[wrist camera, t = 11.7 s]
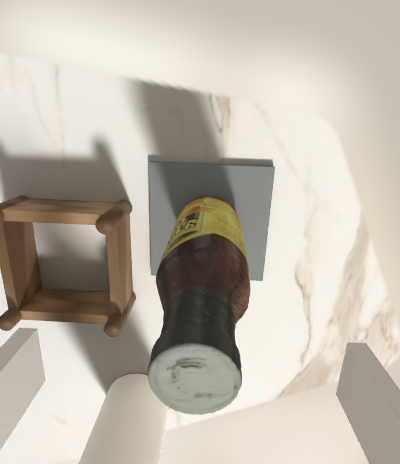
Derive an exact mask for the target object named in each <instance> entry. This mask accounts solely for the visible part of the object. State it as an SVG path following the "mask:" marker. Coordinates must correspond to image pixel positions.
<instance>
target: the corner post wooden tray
mask: <svg viewBox="0 0 400 464" xmlns="http://www.w3.org/2000/svg"><path fill="white" fill-rule="evenodd" d="M131 211H132V205H131V204H130V202H128V201H126V200H121V201H119V202H118V203H114V202H91V201H68V200H45V199H29V198H28V197H26V196H20V197H17V198H14V199H11V200H9V201H6V202H3V203H0V268H1V273H2V279H3V284H4V289H5V294H6V299H7V304H8V310H7V311H6V312H5V313H4V314H3V315H1V316H0V329H2V330H5V331H9V330H11V329H12V328H13V327H14V326H15V325H16V324H17V323H18V322H19V321H20V320H21V319H23V320H41V321H58V322H76V323H94V324H106V325H105V326H104V332H105V333H106V334H107V335H108V336H110V337H116V336H118V335H119V334H120V332H121V330H122V328H123V325H124V323H125V321H126V319H127V317H128V314H129V312H130V310H131V308H132V306H133V304H134V301H135V299H136V296H135V294H134V293H133V284H132V261H131V237H130V213H131ZM32 222H43V223H65V224H87V225H96V228H97V230H98V231H99V232H100V233H102V234H106V243H107V257H108V271H109V285H110V292H95V291H76V290H58V289H43V288H42V286H41V279H40V272H39V266H38V259H37V252H36V246H35V239H34V232H33V226H32Z"/></svg>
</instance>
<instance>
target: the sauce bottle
mask: <svg viewBox="0 0 400 464" xmlns="http://www.w3.org/2000/svg"><path fill="white" fill-rule="evenodd" d="M156 285H157V289H158V293H159V296H160V300H161V303H162V307H163V310H164V318H163V322H164V323H163V328H162V331H161V335H160V337H159V338H158V340H157V341H156V343H155V345H154V347H153V349H152V353H151V358H150V363H149V367H148V380H149V384H150V388H151V390H152V391H153V392H154V393H155V395H156V396H157V397H158V399H159V400H160V401H162V402H163V403H164V404H165V405H166V406H168V407H170V408H172V409H173V410H175V411H179V412H182V413H186V414H200V415H202V414H206V413H214V412H216V411H218V410H221V409H223V408H224V407H226V406H227V405H229V404H230V403H231V402H232V401H233V400H234V399H235V397H236V396H237V394H238V391H239V389H240V387H241V383H242V373H241V362H240V354H239V350H238V348H237V346H236V344H235V343H236V342H235V335H234V334H235V324H236V323H237V321H238V320H239V319H240V318H242V316H243V315H244V313H245V311H246V310H247V308H248V303H249V296H250V281H249V267H248V261H247V255H246V250H245V245H244V239H243V234H242V228H241V223H240V219H239V217H238V215H237V213H236V211H235V209H234V208H233V207H232V206H231V205H230V204H229V203H228V202H226V201H225V200H223V199H221V198H219V197H216V196H203V197H198V198H196V199H195V200H193V201H192V202H190V203H189V204H188V205H187V206H186V207H185V208H184V209H183V210H182V211H181V213H180V215H179V217H178V219H177V221H176V224H175V227H174V229H173V232H172V234H171V237H170V239H169V241H168V244H167V246H166V249H165V252H164V254H163V257H162V259H161V262H160V265H159V267H158V270H157V274H156Z"/></svg>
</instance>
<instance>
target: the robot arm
mask: <svg viewBox="0 0 400 464" xmlns="http://www.w3.org/2000/svg"><path fill="white" fill-rule="evenodd" d="M44 381H45V375H44V369H43V362H42V356H41V350H40V344H39V338H38V332H37V329H33V328H19V329H18V330H17V331H16V332H15V333H14V334H13V335H12V336H11V337H10V338H9V339H8V340H7V341H6V342H5V344H4V345H3V346H2V347H1V348H0V450H1V448H2V447H3V445H4V443H5V442H6V440H7V439H8V437H9V436H10V434H11V433H12V431H13V429H14V428H15V426H16V425H17V423H18V422H19V420H20V419H21V417H22V416H23V414H24V412H25V411H26V409H27V408H28V406H29V405H30V403H31V402H32V400H33V398H34V397H35V395H36V394H37V392H38V391H39V389H40V388H41V386H42V384H43V383H44ZM336 394H337V396H338V399H339V401H340V403H341V405H342V407H343V409H344V411H345V413H346V415H347V417H348V420H349V422H350V424H351V426H352V428H353V430H354V432H355V434H356V436H357V439H358V441H359V442H360V445H361V447H362V449H363V451H364V453H365V455H366V457H367V459H368V462H369V464H400V390H399V388H398V387H397V385H396V384H395V383H394V381H393V380H392V379H391V377H390V376H389V374H388V373H387V372H386V370H385V369H384V367H383V366H382V365H381V363H380V362H379V361H378V359H377V358H376V356H375V355H374V354H373V352H372V351H371V350H370V348H369V347H368V345H367V344H366V343H347V348H346V352H345V356H344V361H343V365H342V370H341V374H340V379H339V383H338V388H337V393H336Z"/></svg>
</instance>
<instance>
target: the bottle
mask: <svg viewBox="0 0 400 464" xmlns="http://www.w3.org/2000/svg"><path fill="white" fill-rule="evenodd" d="M168 412H169V407H168V406H166V405H165V404H164V403H163V402H162V401H160V400H159V399H158V397H157V396H156V395H155V393H154V392H153V391H152V390H151V388H150V384H149V380H148V375H144V374H128V375H124V376H122V377H120V378H118V379H117V380H115V381H114V382H113V383H112V385H111V386H110V388H109V390H108V393H107V395H106V397H105V400H104V402H103V405H102V407H101V410H100V412H99V415H98V417H97V420H96V422H95V425H94V427H93V430H92V432H91V435H90V437H89V439H88V442H87V444H86V447H85V449H84V452H83V454H82V457H81V459H80V462H79V464H160V461H161V455H162V449H163V443H164V436H165V430H166V424H167V418H168Z"/></svg>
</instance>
